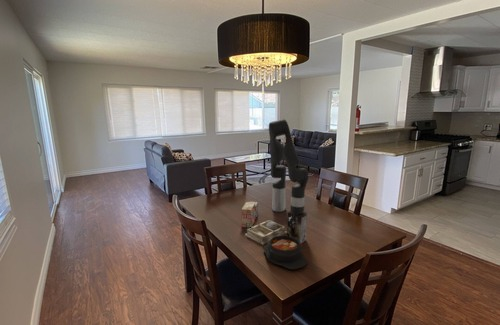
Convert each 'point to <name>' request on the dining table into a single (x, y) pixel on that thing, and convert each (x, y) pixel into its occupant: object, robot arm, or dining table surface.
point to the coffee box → (298, 227)
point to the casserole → (285, 252)
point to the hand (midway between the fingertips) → (296, 231)
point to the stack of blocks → (249, 213)
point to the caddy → (265, 231)
